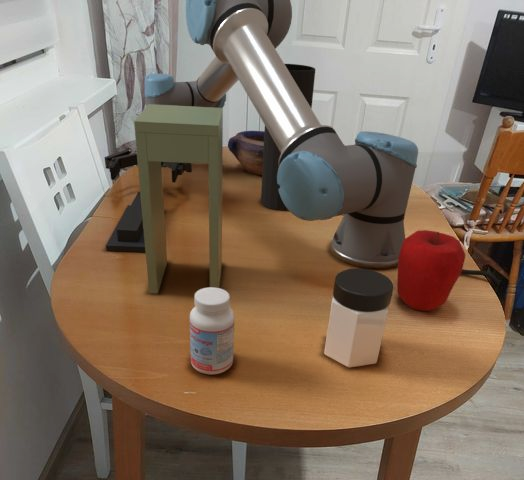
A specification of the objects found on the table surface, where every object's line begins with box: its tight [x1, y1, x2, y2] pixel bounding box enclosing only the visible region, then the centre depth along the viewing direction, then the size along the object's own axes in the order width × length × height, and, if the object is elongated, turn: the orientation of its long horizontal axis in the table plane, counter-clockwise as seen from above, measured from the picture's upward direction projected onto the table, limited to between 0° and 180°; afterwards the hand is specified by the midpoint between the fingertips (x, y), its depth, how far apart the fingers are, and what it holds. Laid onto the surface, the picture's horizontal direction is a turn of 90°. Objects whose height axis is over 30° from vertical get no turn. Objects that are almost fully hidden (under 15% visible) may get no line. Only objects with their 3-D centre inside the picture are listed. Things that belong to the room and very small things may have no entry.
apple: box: [396, 229, 466, 312], centre depth 87 cm, size 11×10×14 cm
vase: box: [260, 63, 316, 211], centre depth 120 cm, size 10×10×30 cm
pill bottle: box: [189, 286, 235, 375], centre depth 71 cm, size 6×6×11 cm
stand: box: [133, 104, 224, 295], centre depth 87 cm, size 12×12×28 cm
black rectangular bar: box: [117, 191, 144, 242], centre depth 111 cm, size 22×4×2 cm, turn 0°
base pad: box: [105, 204, 146, 253], centre depth 111 cm, size 22×8×1 cm, turn 1°
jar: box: [323, 267, 394, 369], centre depth 75 cm, size 9×8×12 cm
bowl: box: [227, 130, 265, 176], centre depth 146 cm, size 18×18×10 cm
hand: (142, 175), depth 115 cm, fingers open, 13 cm apart
